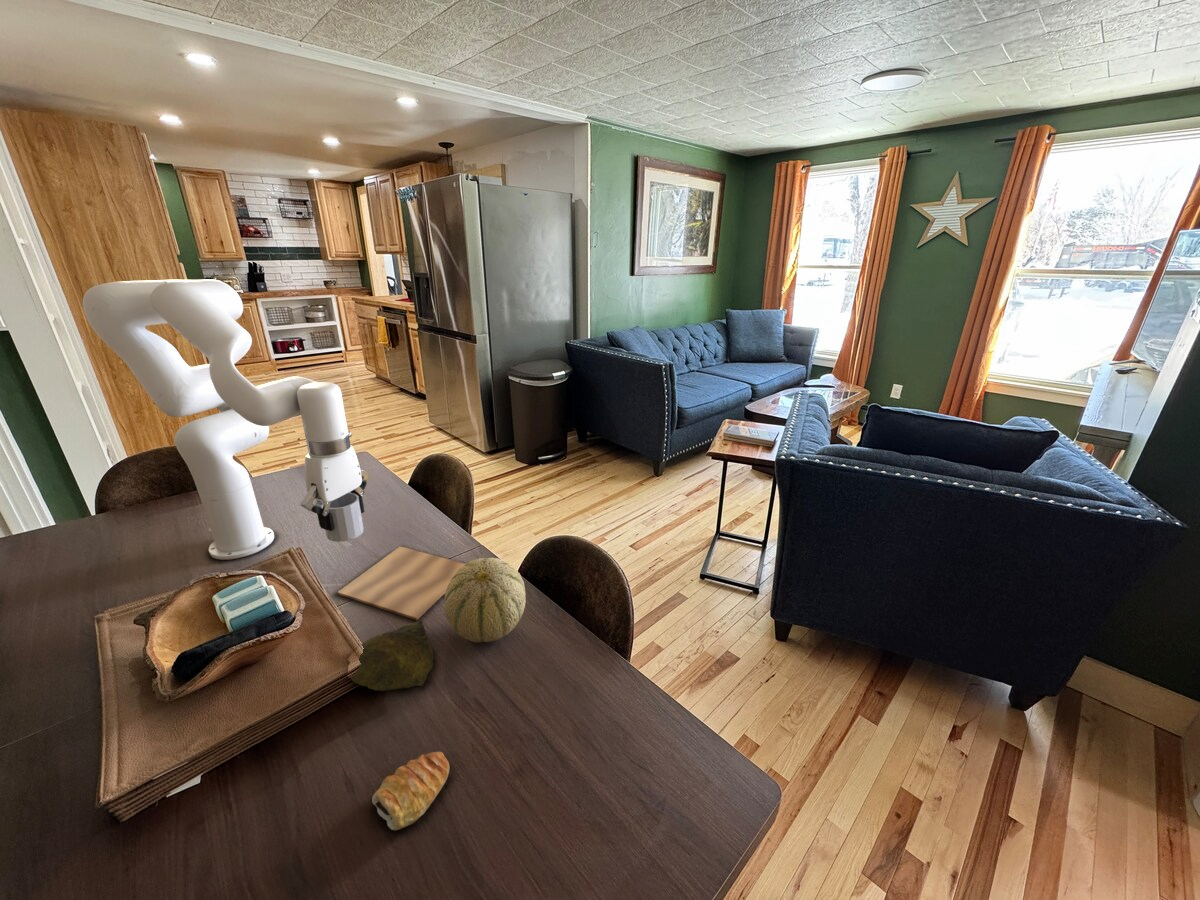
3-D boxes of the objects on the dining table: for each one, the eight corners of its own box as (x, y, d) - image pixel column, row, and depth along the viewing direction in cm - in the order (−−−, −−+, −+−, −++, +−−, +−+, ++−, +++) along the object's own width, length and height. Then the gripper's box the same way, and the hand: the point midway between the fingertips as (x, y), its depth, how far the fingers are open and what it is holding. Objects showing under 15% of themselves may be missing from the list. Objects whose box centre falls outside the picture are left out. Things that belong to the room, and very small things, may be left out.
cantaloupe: (499, 593, 98) (495, 531, 93) (543, 631, 89) (541, 565, 83) (432, 628, 89) (423, 562, 83) (473, 675, 79) (466, 603, 74)
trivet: (337, 594, 97) (337, 592, 97) (400, 548, 113) (400, 546, 112) (416, 620, 91) (416, 618, 90) (471, 567, 106) (471, 565, 106)
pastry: (430, 749, 67) (427, 730, 66) (462, 778, 64) (460, 759, 62) (368, 807, 60) (363, 787, 59) (400, 843, 56) (396, 823, 55)
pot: (318, 537, 101) (312, 504, 98) (346, 521, 107) (340, 489, 104) (344, 544, 99) (338, 511, 96) (371, 528, 105) (366, 496, 102)
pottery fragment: (348, 713, 72) (343, 693, 71) (347, 648, 84) (343, 630, 82) (439, 682, 78) (436, 662, 76) (426, 625, 89) (424, 608, 88)
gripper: (349, 428, 104) (361, 499, 111) (274, 456, 89) (293, 536, 96) (376, 433, 102) (387, 505, 108) (304, 463, 86) (321, 545, 93)
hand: (343, 519), depth 102 cm, fingers closed on pot, 7 cm apart
